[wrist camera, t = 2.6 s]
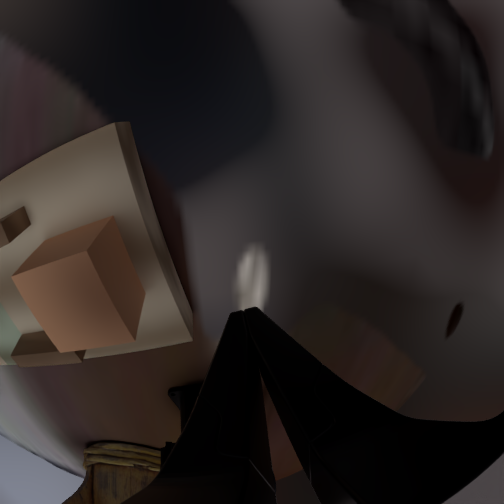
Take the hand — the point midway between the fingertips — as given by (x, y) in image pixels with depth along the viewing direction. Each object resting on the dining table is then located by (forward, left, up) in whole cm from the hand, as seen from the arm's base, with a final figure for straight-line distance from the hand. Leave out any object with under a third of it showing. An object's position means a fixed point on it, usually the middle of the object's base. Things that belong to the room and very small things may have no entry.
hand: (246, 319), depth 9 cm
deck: (0, +18, -10) cm, 20 cm away
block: (0, +8, -7) cm, 10 cm away
